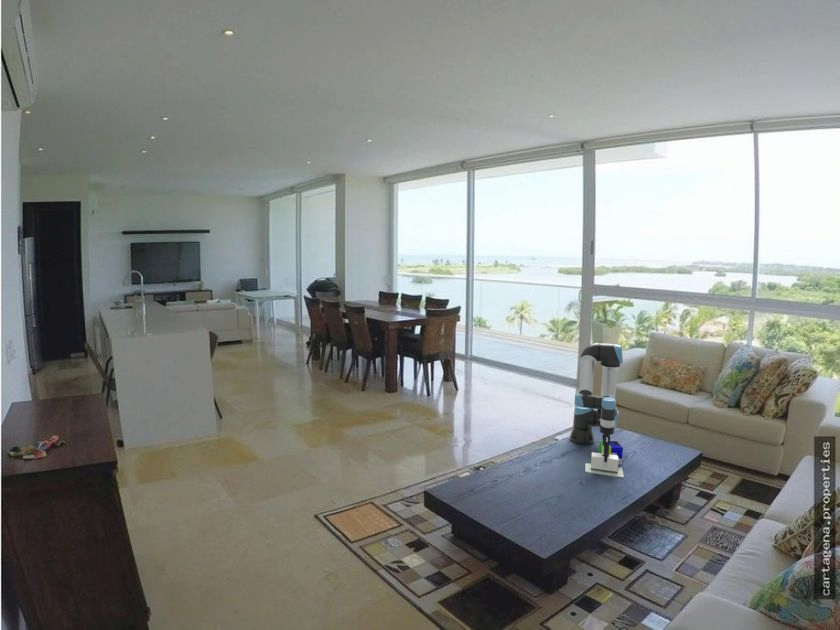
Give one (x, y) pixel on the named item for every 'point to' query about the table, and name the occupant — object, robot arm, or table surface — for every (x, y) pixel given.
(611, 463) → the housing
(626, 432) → the table surface
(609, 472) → the plate
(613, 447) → the puzzle toy
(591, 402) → the robot arm
